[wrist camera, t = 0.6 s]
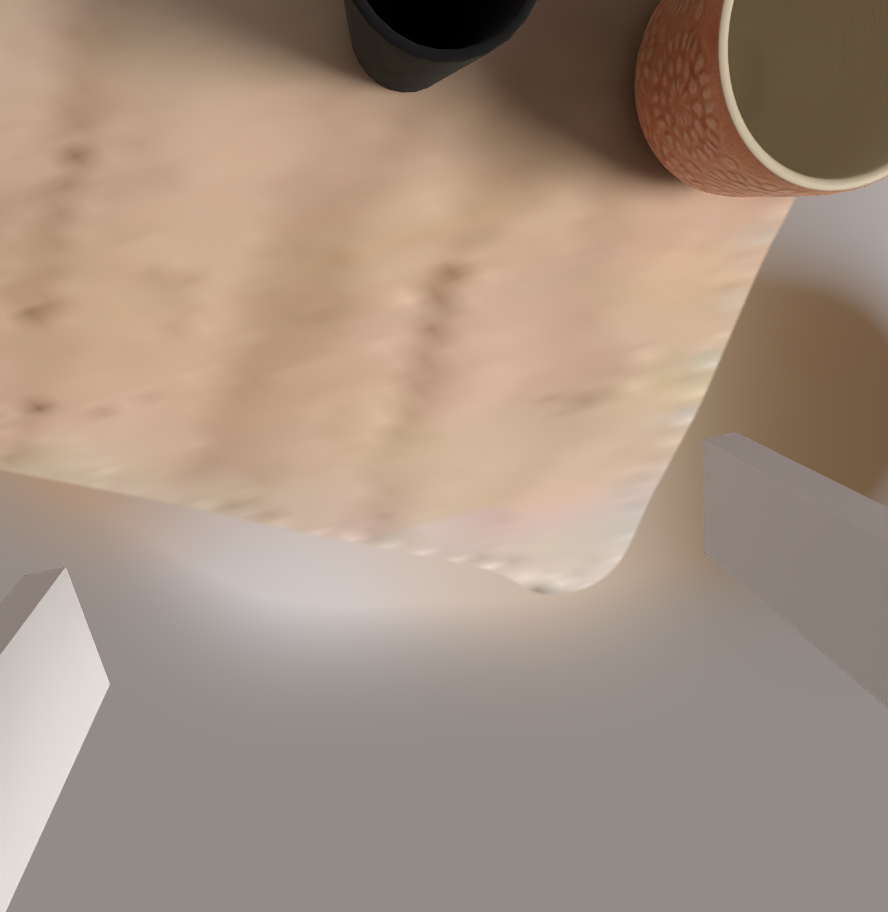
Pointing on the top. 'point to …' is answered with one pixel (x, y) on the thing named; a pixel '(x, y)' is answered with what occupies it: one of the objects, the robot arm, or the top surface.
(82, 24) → the top surface
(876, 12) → the planter
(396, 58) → the cup
